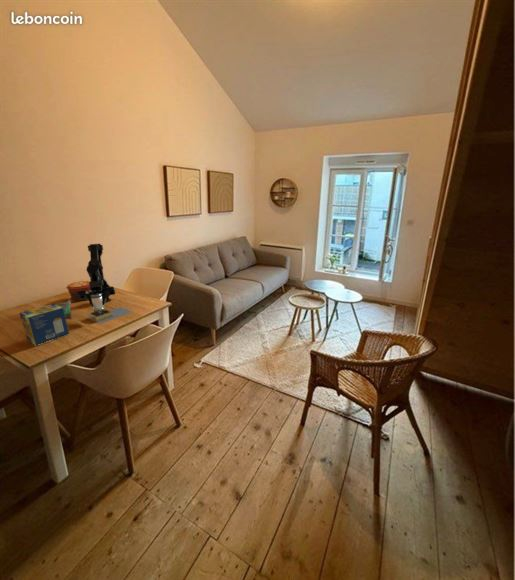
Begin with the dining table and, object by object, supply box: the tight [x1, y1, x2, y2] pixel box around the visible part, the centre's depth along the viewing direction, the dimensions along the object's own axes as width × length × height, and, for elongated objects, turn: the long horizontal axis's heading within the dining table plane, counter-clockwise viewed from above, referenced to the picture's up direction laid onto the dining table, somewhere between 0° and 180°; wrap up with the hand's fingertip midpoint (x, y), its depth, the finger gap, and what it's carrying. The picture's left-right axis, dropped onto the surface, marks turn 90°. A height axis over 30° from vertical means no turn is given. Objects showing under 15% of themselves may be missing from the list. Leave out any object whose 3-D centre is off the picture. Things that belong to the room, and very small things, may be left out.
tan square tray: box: [87, 308, 113, 323], centre depth 167 cm, size 10×10×3 cm
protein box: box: [18, 303, 70, 346], centre depth 144 cm, size 10×15×16 cm
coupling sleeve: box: [90, 293, 106, 316], centre depth 165 cm, size 6×6×12 cm
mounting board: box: [86, 306, 134, 325], centre depth 171 cm, size 14×21×1 cm, turn 146°
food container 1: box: [54, 300, 72, 320], centre depth 167 cm, size 12×6×10 cm, turn 143°
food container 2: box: [65, 280, 91, 302], centre depth 201 cm, size 16×16×11 cm
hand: (98, 305), depth 164 cm, fingers closed on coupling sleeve, 6 cm apart
